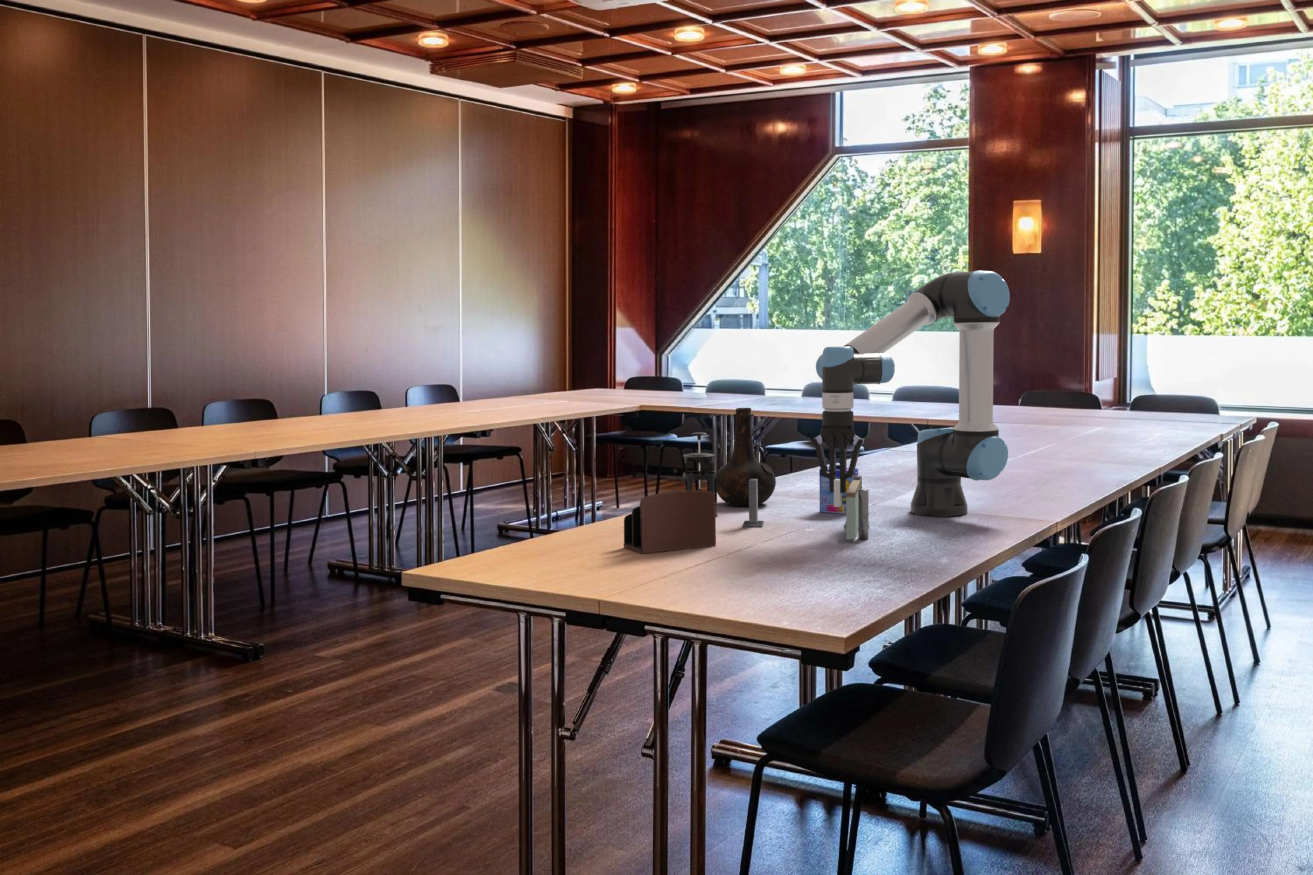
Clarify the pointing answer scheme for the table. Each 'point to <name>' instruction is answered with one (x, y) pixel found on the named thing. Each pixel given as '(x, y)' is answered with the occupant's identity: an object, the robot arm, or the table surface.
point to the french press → (701, 475)
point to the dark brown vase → (744, 467)
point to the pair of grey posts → (862, 521)
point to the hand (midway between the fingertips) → (837, 505)
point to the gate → (852, 509)
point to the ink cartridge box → (828, 497)
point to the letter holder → (671, 522)
